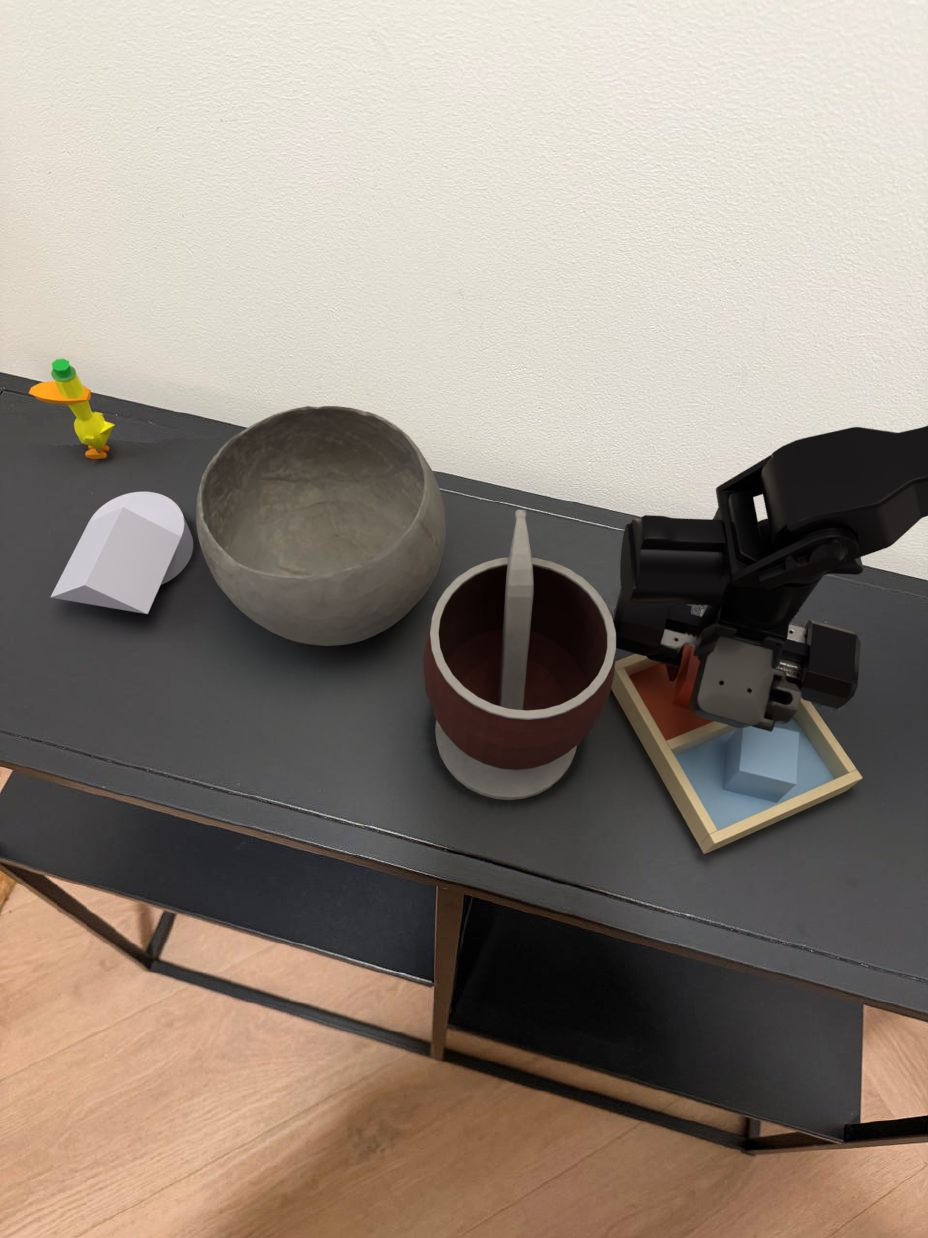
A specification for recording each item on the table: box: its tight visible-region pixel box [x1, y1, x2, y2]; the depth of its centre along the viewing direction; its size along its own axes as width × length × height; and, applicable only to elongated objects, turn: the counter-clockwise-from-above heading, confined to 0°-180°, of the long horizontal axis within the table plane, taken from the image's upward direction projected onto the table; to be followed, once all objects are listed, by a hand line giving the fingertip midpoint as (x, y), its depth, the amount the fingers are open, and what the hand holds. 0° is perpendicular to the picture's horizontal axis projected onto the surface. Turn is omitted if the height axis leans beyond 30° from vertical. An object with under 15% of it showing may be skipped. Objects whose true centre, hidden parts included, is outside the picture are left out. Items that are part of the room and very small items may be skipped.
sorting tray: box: [611, 645, 863, 855], centre depth 71 cm, size 14×17×3 cm
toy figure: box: [28, 358, 115, 460], centre depth 82 cm, size 7×4×12 cm, turn 87°
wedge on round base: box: [50, 491, 194, 615], centre depth 77 cm, size 9×7×13 cm
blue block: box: [723, 726, 799, 802], centre depth 68 cm, size 4×4×4 cm
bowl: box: [195, 405, 447, 647], centre depth 73 cm, size 20×20×15 cm
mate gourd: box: [422, 509, 617, 801], centre depth 64 cm, size 16×14×20 cm
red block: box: [672, 646, 700, 710], centre depth 72 cm, size 4×4×4 cm
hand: (703, 685), depth 73 cm, fingers open, 5 cm apart
